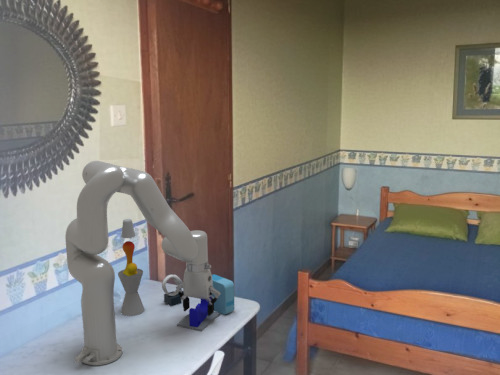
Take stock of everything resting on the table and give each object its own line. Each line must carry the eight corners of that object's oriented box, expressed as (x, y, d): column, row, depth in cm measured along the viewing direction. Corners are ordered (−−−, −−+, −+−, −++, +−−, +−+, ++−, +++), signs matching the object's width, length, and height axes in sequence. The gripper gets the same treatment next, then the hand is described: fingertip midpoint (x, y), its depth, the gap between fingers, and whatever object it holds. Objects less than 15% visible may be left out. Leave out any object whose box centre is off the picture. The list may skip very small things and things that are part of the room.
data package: (234, 312, 185) (234, 281, 183) (225, 316, 182) (225, 285, 180) (213, 302, 194) (212, 273, 191) (204, 306, 190) (203, 276, 188)
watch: (185, 301, 194) (184, 275, 192) (167, 307, 190) (166, 280, 187) (178, 297, 199) (177, 270, 197) (160, 302, 194) (158, 275, 192)
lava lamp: (115, 310, 188) (109, 219, 181) (137, 303, 193) (132, 215, 186) (127, 318, 181) (122, 224, 174) (149, 310, 187) (145, 219, 180)
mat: (201, 331, 171) (201, 329, 171) (176, 326, 175) (176, 324, 175) (220, 314, 184) (220, 312, 184) (195, 309, 188) (195, 308, 187)
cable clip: (198, 310, 185) (198, 295, 184) (210, 312, 184) (209, 296, 183) (185, 325, 174) (185, 309, 173) (197, 327, 173) (197, 310, 172)
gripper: (224, 265, 175) (225, 311, 179) (181, 259, 182) (182, 303, 185) (214, 273, 169) (215, 320, 172) (170, 266, 175) (171, 312, 179)
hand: (198, 311), depth 179 cm, fingers open, 9 cm apart
